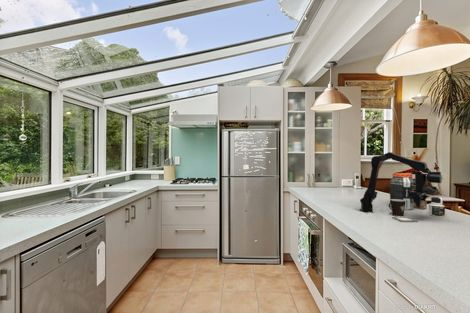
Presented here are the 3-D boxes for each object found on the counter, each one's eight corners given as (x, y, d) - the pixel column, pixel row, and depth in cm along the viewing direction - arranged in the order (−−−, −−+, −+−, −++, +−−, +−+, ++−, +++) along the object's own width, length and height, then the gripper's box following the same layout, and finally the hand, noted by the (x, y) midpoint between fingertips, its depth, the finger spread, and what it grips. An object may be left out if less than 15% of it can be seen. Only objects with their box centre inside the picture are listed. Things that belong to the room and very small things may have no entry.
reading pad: (401, 222, 160) (401, 220, 160) (391, 217, 170) (391, 216, 170) (418, 222, 160) (418, 221, 160) (407, 218, 170) (407, 216, 170)
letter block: (423, 210, 162) (423, 201, 162) (413, 208, 166) (413, 200, 166) (426, 209, 164) (426, 200, 164) (417, 207, 169) (417, 199, 169)
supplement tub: (415, 211, 189) (415, 174, 189) (389, 208, 198) (389, 173, 197) (413, 207, 203) (414, 173, 203) (390, 205, 211) (390, 172, 211)
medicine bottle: (431, 216, 175) (432, 197, 175) (428, 213, 182) (428, 196, 182) (445, 217, 172) (445, 198, 172) (441, 214, 179) (441, 196, 179)
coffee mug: (401, 213, 181) (401, 199, 181) (408, 216, 173) (408, 201, 173) (383, 213, 183) (383, 198, 182) (389, 216, 174) (389, 201, 174)
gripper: (428, 184, 153) (428, 211, 153) (442, 182, 163) (442, 207, 164) (407, 182, 163) (407, 207, 163) (421, 180, 173) (421, 204, 173)
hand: (420, 207), depth 165 cm, fingers closed on letter block, 5 cm apart
